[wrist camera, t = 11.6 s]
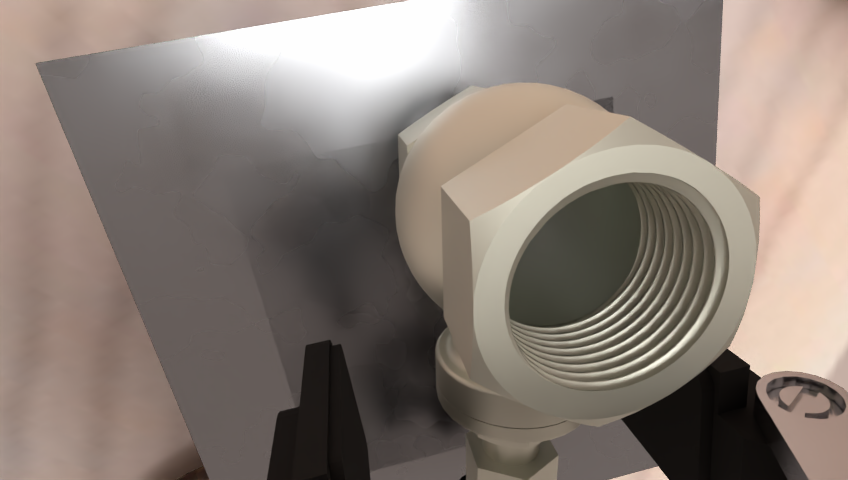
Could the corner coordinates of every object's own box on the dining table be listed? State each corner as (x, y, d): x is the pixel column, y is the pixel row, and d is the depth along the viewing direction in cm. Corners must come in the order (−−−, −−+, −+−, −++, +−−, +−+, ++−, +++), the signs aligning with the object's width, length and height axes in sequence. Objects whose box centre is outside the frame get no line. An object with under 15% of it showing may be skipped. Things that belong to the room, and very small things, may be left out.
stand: (265, 481, 20) (250, 576, 16) (112, 62, 14) (35, 63, 11) (639, 386, 22) (702, 454, 18) (634, -27, 16) (725, -52, 12)
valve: (315, 82, 10) (359, 516, 15) (287, 116, 4) (377, 847, 8) (611, 69, 11) (575, 481, 16) (933, 83, 5) (730, 755, 9)
